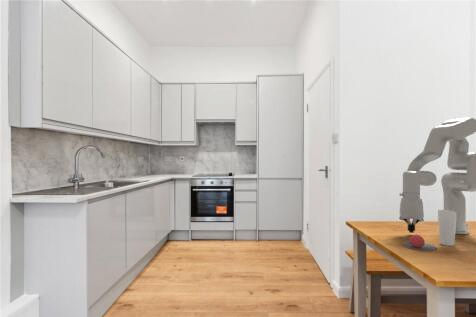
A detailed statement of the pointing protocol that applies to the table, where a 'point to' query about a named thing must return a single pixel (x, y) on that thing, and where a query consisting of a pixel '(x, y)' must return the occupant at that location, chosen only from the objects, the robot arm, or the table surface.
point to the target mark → (426, 247)
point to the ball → (417, 241)
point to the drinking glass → (447, 227)
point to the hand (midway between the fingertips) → (411, 232)
